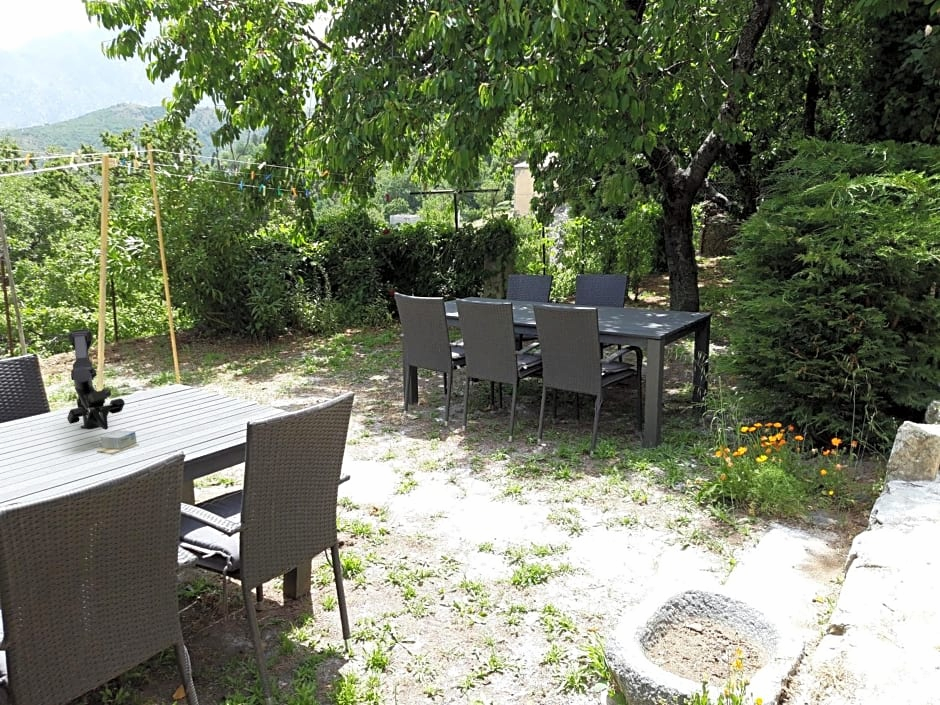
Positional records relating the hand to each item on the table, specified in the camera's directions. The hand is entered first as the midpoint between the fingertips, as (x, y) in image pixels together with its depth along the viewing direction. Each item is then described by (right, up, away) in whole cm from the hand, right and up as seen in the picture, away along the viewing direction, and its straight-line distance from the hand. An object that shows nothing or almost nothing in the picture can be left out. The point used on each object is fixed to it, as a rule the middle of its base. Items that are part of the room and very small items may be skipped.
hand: (106, 428), depth 251 cm
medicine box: (0, -4, +1) cm, 4 cm away
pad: (+5, -7, -1) cm, 9 cm away
